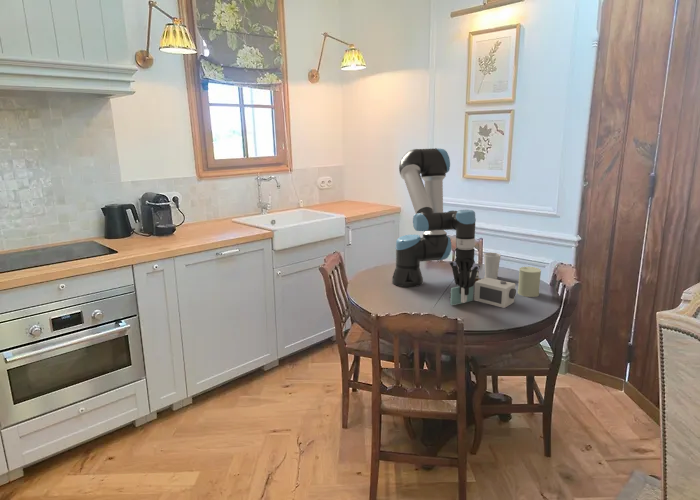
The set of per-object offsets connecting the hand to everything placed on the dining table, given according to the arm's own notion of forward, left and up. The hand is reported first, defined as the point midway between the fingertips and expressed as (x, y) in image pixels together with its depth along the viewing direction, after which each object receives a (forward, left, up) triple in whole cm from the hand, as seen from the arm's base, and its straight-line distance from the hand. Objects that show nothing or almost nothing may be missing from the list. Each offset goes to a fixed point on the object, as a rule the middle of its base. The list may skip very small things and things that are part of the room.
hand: (463, 301), depth 194 cm
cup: (-10, +44, -2) cm, 45 cm away
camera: (-9, +25, -3) cm, 27 cm away
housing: (+7, +14, -2) cm, 16 cm away
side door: (-3, +3, -2) cm, 5 cm away
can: (+14, +33, -2) cm, 36 cm away
